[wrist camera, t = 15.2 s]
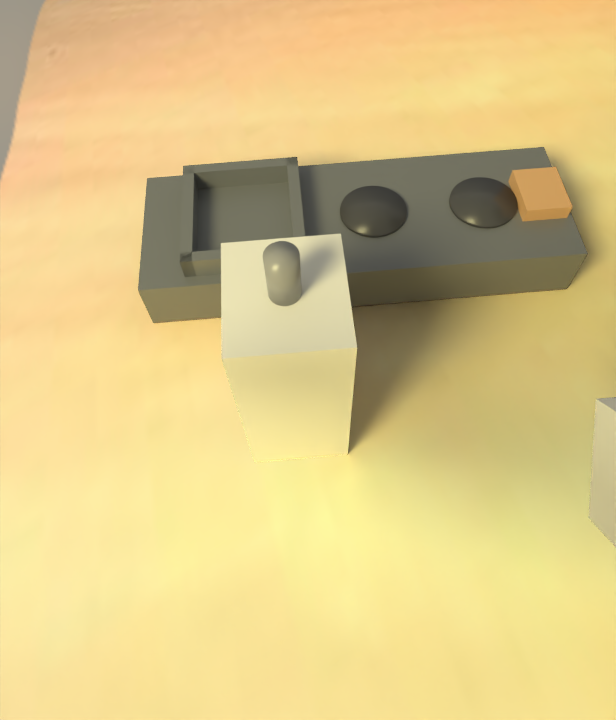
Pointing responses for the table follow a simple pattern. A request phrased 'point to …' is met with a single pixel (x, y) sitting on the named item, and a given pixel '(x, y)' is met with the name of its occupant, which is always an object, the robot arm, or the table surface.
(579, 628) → the table surface
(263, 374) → the white block with knob
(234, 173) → the power strip
